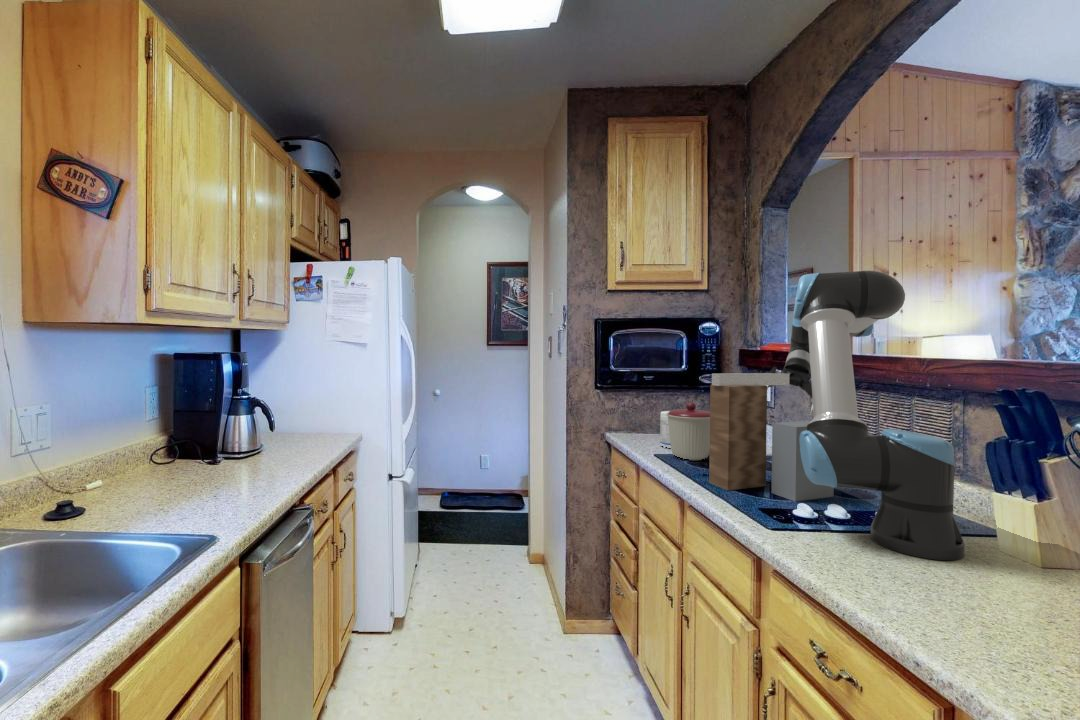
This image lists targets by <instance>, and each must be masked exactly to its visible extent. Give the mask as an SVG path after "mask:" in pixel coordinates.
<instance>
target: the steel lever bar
mask: <svg viewBox="0 0 1080 720" xmlns="http://www.w3.org/2000/svg"><path fill="white" fill-rule="evenodd" d="M789 375H790V374H786V373H767V372H765V373H764V372H762V373H761V372H758V373H757V372H755V373H752V372H751V373H745V372H744V373H743V372H741V373H740V372H739V373H730V372H729V373H726V372H724V373H711V385H715V386H757V385H775V386H790V384H789Z"/></svg>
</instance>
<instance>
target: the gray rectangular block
mask: <svg viewBox="0 0 1080 720" xmlns="http://www.w3.org/2000/svg"><path fill="white" fill-rule="evenodd" d="M810 421H811V420H801V421H800V420H799V421H781V422H778V421H777V422H772V424H771V425H772V426H771V429H772V430H771V431H772V432H771V435H772V436H771V437H772V438H771V444H772V445H771V489H770V490H771V494H773V495H776V496H779V497H782V498H785V499H787V500H790V501H793V502H803V501H810V500H817V499H825V498H833V497H834V496H835V494H834V491H835V490H834V489H835V488H832V487H830V486H825V485H817V484H814V483H812V482H811V481H810V480H809V479H808V478H807V476H806V474H805V471H804V468H803V464H802V459H801V453H800V442H799V439H800V433H801V432H802V431H805V430H807V424H808V423H809V422H810Z"/></svg>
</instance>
